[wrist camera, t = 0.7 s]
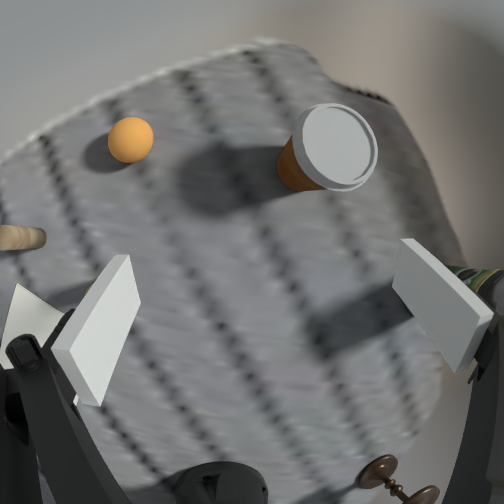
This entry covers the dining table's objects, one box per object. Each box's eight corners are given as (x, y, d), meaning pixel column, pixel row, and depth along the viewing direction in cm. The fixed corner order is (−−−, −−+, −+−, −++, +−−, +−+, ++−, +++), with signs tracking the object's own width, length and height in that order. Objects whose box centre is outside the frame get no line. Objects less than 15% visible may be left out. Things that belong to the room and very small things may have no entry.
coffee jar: (405, 323, 44) (493, 353, 26) (397, 278, 43) (493, 294, 25) (442, 298, 46) (526, 316, 28) (436, 257, 45) (524, 263, 27)
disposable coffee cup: (249, 169, 38) (277, 140, 26) (292, 121, 39) (331, 83, 27) (304, 218, 40) (351, 210, 28) (342, 168, 41) (394, 146, 29)
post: (41, 251, 32) (7, 254, 23) (28, 242, 32) (-9, 243, 23) (49, 233, 32) (15, 231, 24) (35, 224, 32) (0, 220, 23)
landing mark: (73, 413, 33) (73, 413, 33) (-2, 364, 30) (-3, 364, 30) (101, 335, 34) (100, 335, 34) (17, 283, 31) (16, 283, 31)
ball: (140, 175, 35) (134, 164, 30) (105, 156, 34) (93, 143, 28) (163, 137, 35) (160, 121, 30) (127, 120, 34) (120, 102, 29)
